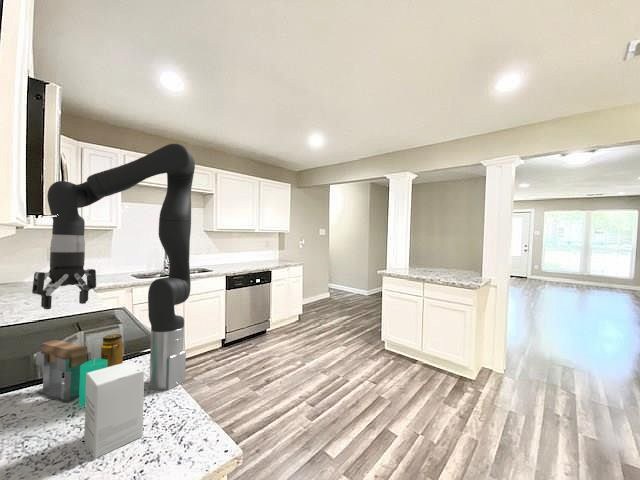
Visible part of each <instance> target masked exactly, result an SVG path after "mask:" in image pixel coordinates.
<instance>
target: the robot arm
mask: <svg viewBox="0 0 640 480" xmlns="http://www.w3.org/2000/svg"><path fill="white" fill-rule="evenodd" d="M195 163H196V161H195V159H194V157H193V155H192V154H191V152H190V151H189V149H187V148H186V146H184V145H181V144H180V143H169V144H167V145H164V146H161V147H160V148H158V149H156V150H154V151H152V152H150V153H148V154H146V155H144V156H142V157H139V158H137V159H135V160H132V161H129V162H127V163H125V164H123V165H122V164H121V165H119V166H115V167H113V168H109V169H106V170H103V171H99V172H97V173H94V174H91V175H89V176H88V177H87V178H86V181H85V182H81V183H79V184H75V183H72V182H70V181H67V180H58V181H54V182H53V183H52V184H51V185H50V186H49V188H48V191H47V194H46V195H47V203H48V207H49V212H50V215H51V218H52V228H51V229H52V233H51V234H52V235H51V239H50V247H49V251H50V253H49V271H47V272H44V271H43V272H41V271H35V272H34V273H33V282H32V291H31V293H32V294H33V295H39V296H40V297H41V301H40V306H41V307H42V308H43V309H44V310H50V309H52V297H53V296H52V294H53V293H54V292H55V291H56V290H57V289H58V288H59V287H66V286H76V287H77V288H78V289H79V290H80V291H79V294H78V295H79V298H78V299H79V300H78V302H79V304H81V305H84V304H87V302H88V300H89V292H90V291H91V290H92V289H96V287H97V272H96V269H94V268H87V269H85V268H84V266H85V257H86V256H85V255H86V240H85V232H86V231H85V227H86V226H85V225H86V224H85V223H86V222H85V219H84V218H83V217H82V216H80V214H79V209H81V208H84V207H88V206H91V205H92V204H95V203H96V202H99V201H100V200H102V199H103V198H106V197H109V196H112V195H115V194H118V193H121V192H124V191H127V190H128V189H129V190H130V189H131V188H133V187H135V186H136V185H138V184H140V183H141V182H143V181H145V180H147V179H149V178H151V177H155V176H158V175H163V174H166V182H167V187H166V194H165V197H164V200H163V203H162V205H161V209H160V212H159V218H158V238H159V242H160V244H161V246H162V248H163V250H164V252H165V254H166V256H167V259H168V268H169V269H168V277H161V278H156V279H154V280H153V281H152V282H151V283H150V285H149V288H148V294H147V304H148V305H147V307H148V308H147V309H148V311H147V313H148V314H147V316H148V320H149V324H150V351H149V352H150V354H149V355H150V358H149V387H150V389H152V390H158V391H159V390H160V391H161V390H171V389H173V388H174V387H176V386H179V385H180V384H182V383H184V382H186V359H187V357H186V356H187V355H186V354H187V352H186V351H185V350H184V344H185V340H184V339H185V318H184V317H183V316H182V315H179V314H177V315H176V313H175V306H176V305H180V304H183V303H185V302H186V301H187V300H188V299H189V297H190V294H191V288H192V287H191V271H190V270H191V269H190V250H191V249H190V246H191V244H190V243H191V241H190V240H191V234H192V233H191V231H192V186H193V182H194V181H193V179H194V175H195V168H196V164H195ZM57 214H58V215H59V216H58V215H57ZM52 215H57V217H52ZM84 276H85V277H86V281H85V280H84V279H83V277H84ZM48 278H49V279H50V281H48V283H47V284H45V281H46V280H47V279H48ZM44 285H45V287H44ZM176 382H177V383H178V384H177V383H176Z"/></svg>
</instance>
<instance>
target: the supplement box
mask: <svg viewBox="0 0 640 480" xmlns="http://www.w3.org/2000/svg"><path fill="white" fill-rule="evenodd" d="M144 388H145V370H143V369H142V368H141V367H139V366H138V365H137V364H135V363H134V361H132V360H129V361H125V362H123V363H121V364H118V365H114V366H110V367H107V368H103V369H99V370H96V371H92V372H88V373H86V399H85V407H84V434H83V435H84V438H83V441H84V442H85V445H86V446H87V448H88V449H89V452H90V453H91V455H92V457H93V458H94V459H98V458H99V457H101V456H103V455H106V454H108V453H110V452H112V451H114V450H116V449H118V448H121V447H122V446H125V445H127V444H129V443H131V442H133V441H135V440H137V439H139V438H140V439H141V438H142V437H143V435H144V393H145V391H144Z"/></svg>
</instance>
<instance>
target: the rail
mask: <svg viewBox="0 0 640 480" xmlns="http://www.w3.org/2000/svg"><path fill="white" fill-rule="evenodd" d="M40 346H41V349H40V352H44V353H48V361H51V362H54V363H57V358H58V357H63V358H67V359H69V367H75V366H78V365H81V364H83V363H85V362H87V351H88V345H87V346H86V345H82V344H77V343H72V342H68V341H63V340H60V339H59V340H58V339H55V340H50V341H46V342H43V343H42V342H41V345H40Z"/></svg>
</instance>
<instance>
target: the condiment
mask: <svg viewBox="0 0 640 480" xmlns="http://www.w3.org/2000/svg"><path fill="white" fill-rule="evenodd" d="M122 337H123V335H122V334H120V333H119V334H118V333H115V334H114V333H113V334H109V335H106V336H105V335H104V337H103V338H102V345H101V348H100V352H101V353H100V359H105V360H108V362H107V367H110V366H114V365H118V364H121V363H124V362H123V358H124V352H123V351H124V343H123V338H122Z"/></svg>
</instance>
